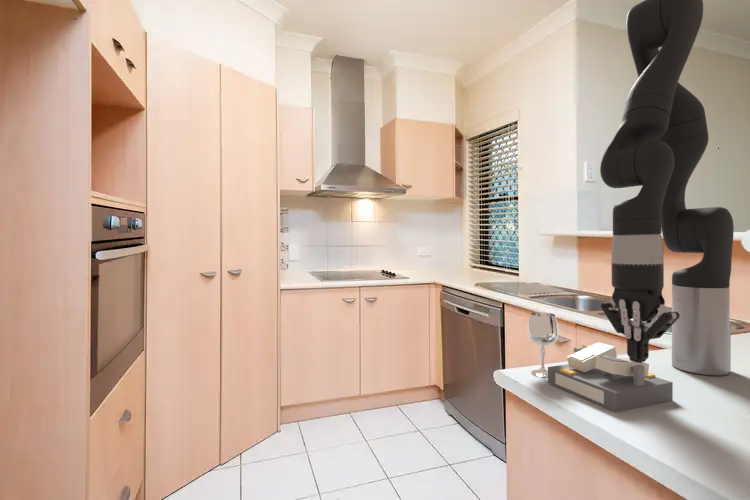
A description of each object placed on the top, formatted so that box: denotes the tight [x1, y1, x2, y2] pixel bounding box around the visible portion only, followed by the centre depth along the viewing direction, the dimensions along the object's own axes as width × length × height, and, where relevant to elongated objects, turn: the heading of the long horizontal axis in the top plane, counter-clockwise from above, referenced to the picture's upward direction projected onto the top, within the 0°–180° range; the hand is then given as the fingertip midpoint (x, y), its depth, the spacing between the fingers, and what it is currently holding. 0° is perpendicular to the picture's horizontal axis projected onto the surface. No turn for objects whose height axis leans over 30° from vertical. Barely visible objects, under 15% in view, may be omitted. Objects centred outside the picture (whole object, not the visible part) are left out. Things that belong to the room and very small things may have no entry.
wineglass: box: [526, 312, 559, 378], centre depth 80 cm, size 6×6×12 cm
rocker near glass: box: [567, 342, 618, 372], centre depth 73 cm, size 8×4×2 cm, turn 110°
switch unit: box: [547, 346, 674, 413], centre depth 70 cm, size 13×14×6 cm
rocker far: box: [595, 356, 650, 376], centre depth 68 cm, size 8×4×2 cm, turn 110°
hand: (637, 360), depth 69 cm, fingers closed
